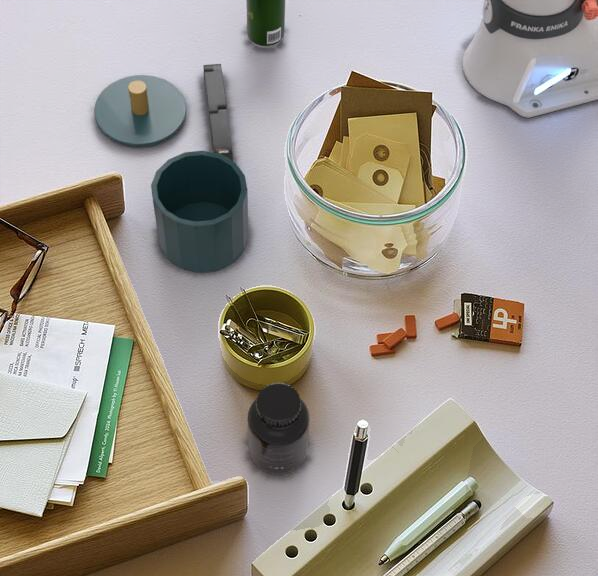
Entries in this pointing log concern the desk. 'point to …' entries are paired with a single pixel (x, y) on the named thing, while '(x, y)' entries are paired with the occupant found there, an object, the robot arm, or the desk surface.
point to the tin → (201, 210)
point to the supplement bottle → (278, 429)
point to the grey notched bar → (217, 110)
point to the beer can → (265, 22)
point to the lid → (140, 110)
